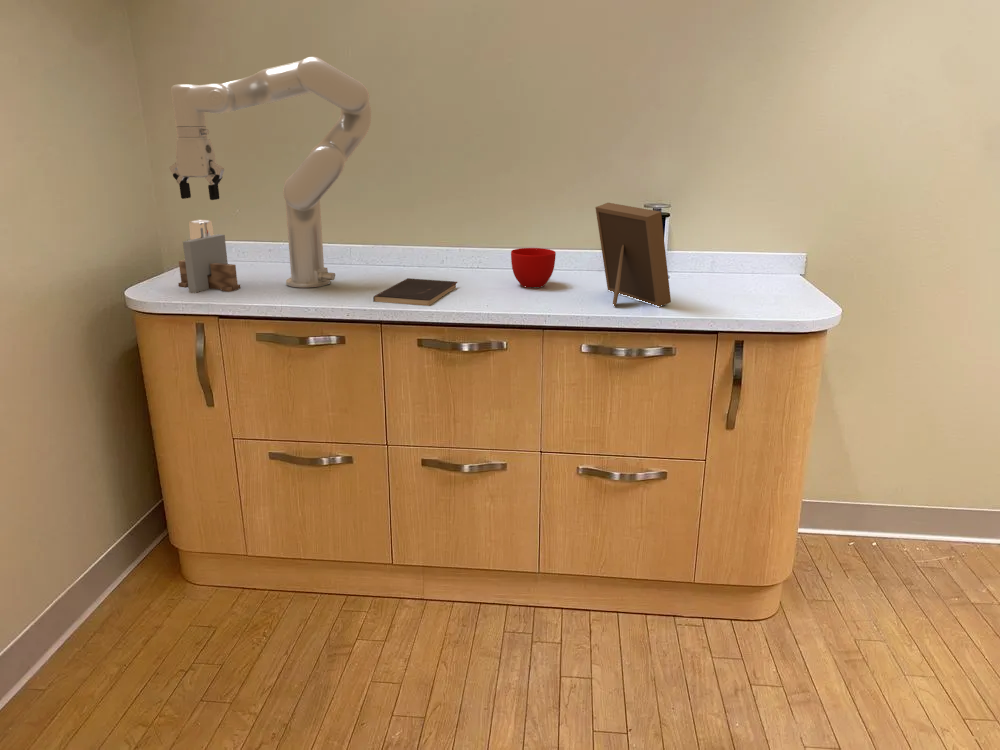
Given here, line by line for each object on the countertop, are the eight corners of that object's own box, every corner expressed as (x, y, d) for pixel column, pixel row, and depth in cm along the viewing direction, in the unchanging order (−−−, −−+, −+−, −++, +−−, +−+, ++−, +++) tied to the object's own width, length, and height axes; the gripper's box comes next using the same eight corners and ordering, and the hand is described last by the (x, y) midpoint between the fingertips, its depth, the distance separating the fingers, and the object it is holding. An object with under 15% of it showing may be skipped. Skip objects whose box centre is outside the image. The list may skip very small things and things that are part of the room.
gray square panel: (229, 282, 223) (224, 234, 218) (196, 292, 211) (189, 242, 206) (223, 282, 224) (217, 234, 219) (189, 292, 211) (182, 241, 207)
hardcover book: (457, 289, 220) (457, 281, 220) (429, 307, 200) (429, 299, 199) (406, 285, 224) (405, 278, 224) (373, 303, 204) (373, 295, 203)
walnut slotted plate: (241, 288, 217) (238, 263, 214) (229, 291, 212) (227, 266, 210) (190, 282, 222) (187, 259, 220) (178, 286, 218) (174, 262, 216)
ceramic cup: (555, 278, 233) (556, 246, 230) (553, 291, 217) (555, 256, 214) (513, 277, 234) (513, 245, 231) (508, 289, 218) (509, 255, 215)
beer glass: (222, 268, 243) (217, 220, 238) (203, 271, 237) (198, 223, 233) (207, 265, 246) (202, 219, 242) (189, 269, 241) (183, 221, 236)
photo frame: (619, 289, 220) (624, 201, 211) (670, 305, 202) (678, 210, 194) (577, 295, 213) (580, 204, 205) (626, 312, 195) (632, 214, 187)
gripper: (227, 133, 204) (235, 198, 210) (176, 132, 210) (184, 196, 215) (208, 134, 197) (216, 201, 203) (155, 133, 203) (165, 199, 209)
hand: (200, 198), depth 209 cm, fingers open, 9 cm apart
